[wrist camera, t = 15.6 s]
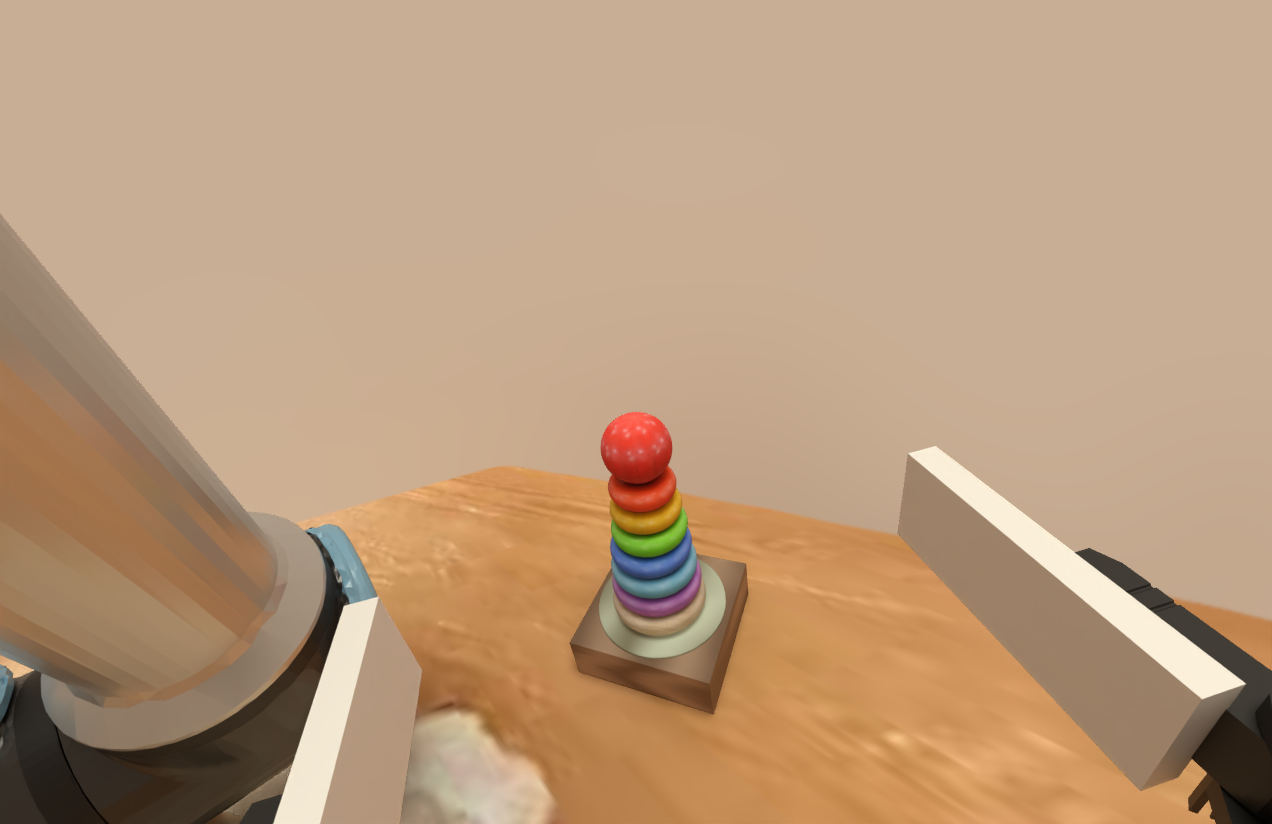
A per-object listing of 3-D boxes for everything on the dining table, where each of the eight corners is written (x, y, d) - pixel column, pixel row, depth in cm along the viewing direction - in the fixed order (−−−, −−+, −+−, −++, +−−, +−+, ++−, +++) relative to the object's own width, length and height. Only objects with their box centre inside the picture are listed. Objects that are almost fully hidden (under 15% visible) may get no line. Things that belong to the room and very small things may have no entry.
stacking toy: (620, 650, 43) (568, 462, 33) (612, 574, 50) (567, 401, 40) (717, 629, 43) (693, 437, 33) (695, 557, 50) (671, 380, 40)
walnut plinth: (579, 671, 46) (568, 640, 44) (633, 568, 56) (626, 538, 53) (713, 714, 42) (709, 681, 39) (748, 593, 51) (745, 561, 48)
